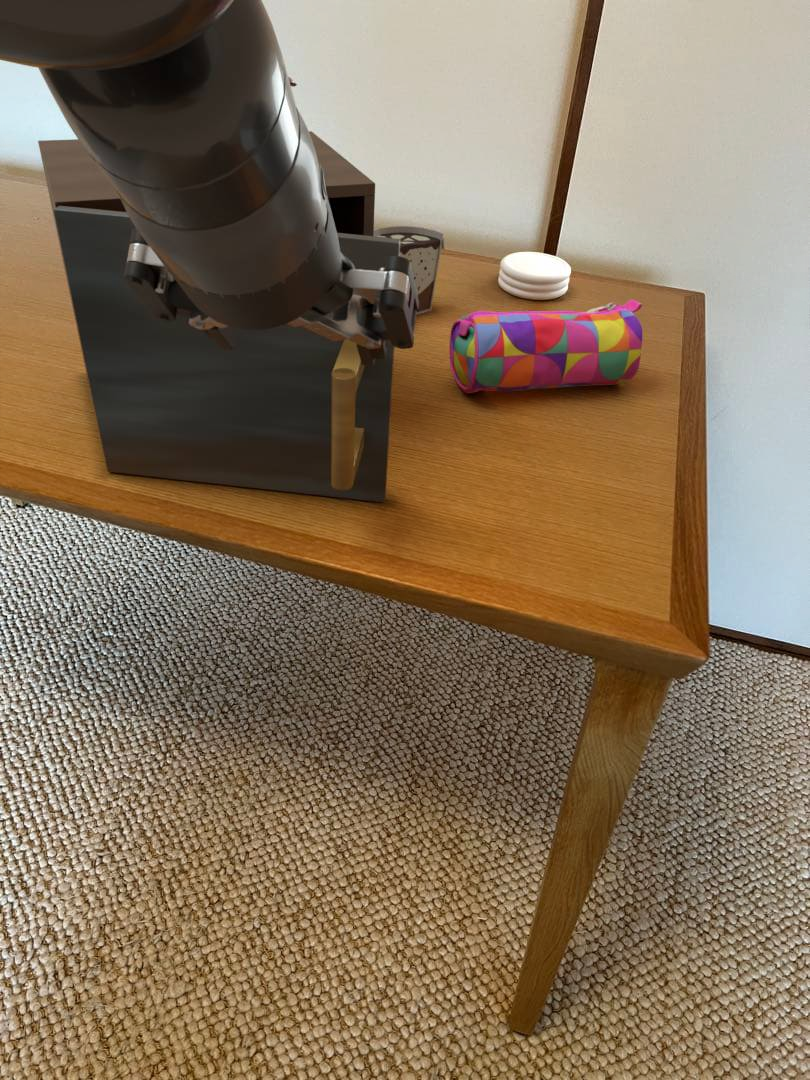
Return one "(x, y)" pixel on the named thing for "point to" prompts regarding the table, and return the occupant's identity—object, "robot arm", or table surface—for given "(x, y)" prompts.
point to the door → (225, 382)
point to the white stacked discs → (534, 275)
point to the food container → (418, 257)
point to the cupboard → (88, 187)
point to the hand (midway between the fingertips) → (301, 342)
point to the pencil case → (546, 348)
